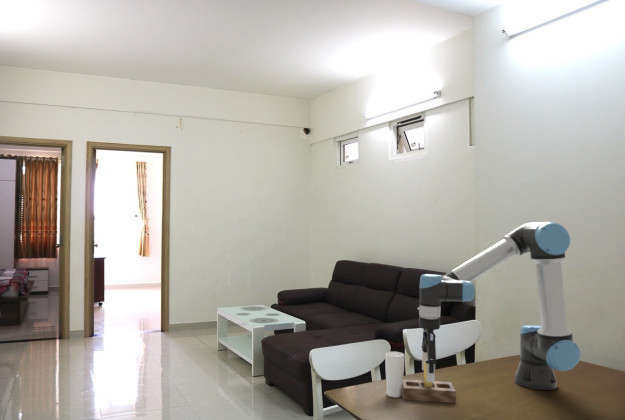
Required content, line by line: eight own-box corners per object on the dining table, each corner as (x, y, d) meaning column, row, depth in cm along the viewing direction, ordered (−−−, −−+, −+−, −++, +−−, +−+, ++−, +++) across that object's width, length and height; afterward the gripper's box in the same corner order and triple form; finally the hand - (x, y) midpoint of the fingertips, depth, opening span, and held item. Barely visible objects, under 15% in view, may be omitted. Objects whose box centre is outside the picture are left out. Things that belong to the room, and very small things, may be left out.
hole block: (450, 392, 181) (450, 382, 181) (455, 402, 171) (455, 391, 171) (401, 389, 183) (401, 379, 183) (403, 399, 173) (403, 388, 173)
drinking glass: (404, 393, 179) (405, 352, 179) (401, 400, 173) (402, 357, 173) (386, 391, 181) (387, 350, 182) (382, 397, 175) (383, 355, 175)
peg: (431, 394, 179) (432, 361, 179) (433, 397, 176) (434, 364, 176) (422, 394, 179) (423, 361, 179) (424, 397, 176) (425, 363, 176)
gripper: (415, 310, 191) (414, 365, 190) (423, 323, 166) (421, 386, 165) (435, 311, 190) (433, 366, 189) (445, 324, 165) (444, 388, 165)
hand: (428, 375), depth 177 cm, fingers open, 13 cm apart
